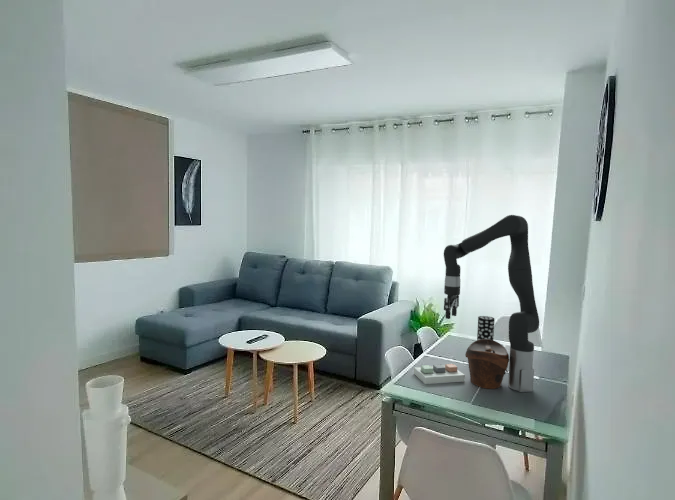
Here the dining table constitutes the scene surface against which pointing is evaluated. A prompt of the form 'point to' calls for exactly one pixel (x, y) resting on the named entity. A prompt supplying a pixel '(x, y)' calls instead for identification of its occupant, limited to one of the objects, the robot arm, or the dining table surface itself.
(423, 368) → the key sage
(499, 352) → the brown wooden rounded tub
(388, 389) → the dining table surface
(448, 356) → the dining table surface
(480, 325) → the white-spotted black cylinder
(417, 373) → the keypad board
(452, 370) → the key terracotta
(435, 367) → the key charcoal
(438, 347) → the dining table surface
